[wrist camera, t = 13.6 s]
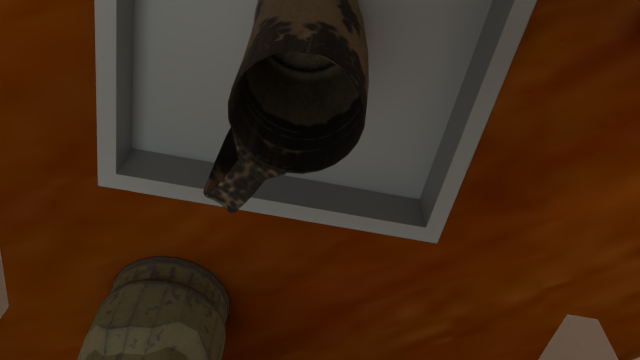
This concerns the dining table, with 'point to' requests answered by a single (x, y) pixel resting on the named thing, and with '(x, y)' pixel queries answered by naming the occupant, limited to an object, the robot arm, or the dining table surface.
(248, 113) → the mug
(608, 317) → the dining table surface
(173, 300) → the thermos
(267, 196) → the box
